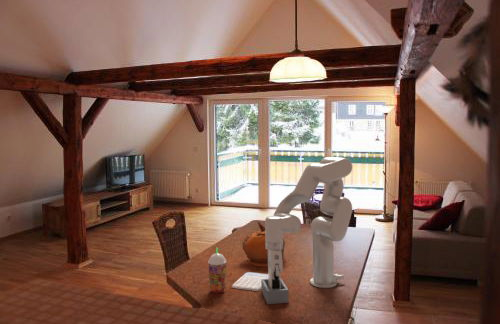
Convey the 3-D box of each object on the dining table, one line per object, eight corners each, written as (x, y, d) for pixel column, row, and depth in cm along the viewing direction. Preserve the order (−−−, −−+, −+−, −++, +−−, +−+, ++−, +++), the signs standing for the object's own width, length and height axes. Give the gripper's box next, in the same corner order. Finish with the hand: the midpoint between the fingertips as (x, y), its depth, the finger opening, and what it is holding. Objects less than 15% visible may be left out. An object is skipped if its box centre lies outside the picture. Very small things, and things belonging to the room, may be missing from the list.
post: (278, 289, 172) (278, 263, 171) (280, 293, 167) (280, 266, 166) (268, 290, 171) (268, 263, 170) (270, 294, 167) (270, 267, 166)
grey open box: (281, 289, 177) (280, 277, 176) (288, 302, 163) (288, 289, 163) (261, 291, 175) (261, 279, 175) (267, 304, 162) (267, 291, 161)
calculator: (231, 289, 180) (231, 285, 180) (246, 274, 199) (246, 271, 199) (258, 292, 175) (258, 288, 175) (271, 277, 194) (271, 273, 194)
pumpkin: (236, 262, 217) (236, 222, 215) (261, 251, 237) (261, 215, 236) (271, 270, 204) (270, 227, 202) (294, 257, 224) (293, 219, 223)
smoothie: (205, 293, 174) (204, 249, 173) (213, 286, 182) (212, 244, 181) (222, 295, 171) (221, 250, 170) (229, 288, 179) (229, 245, 178)
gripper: (287, 249, 160) (287, 293, 161) (278, 239, 177) (278, 278, 178) (269, 251, 159) (270, 294, 160) (262, 240, 176) (262, 279, 177)
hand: (274, 285), depth 169 cm, fingers closed on post, 4 cm apart
